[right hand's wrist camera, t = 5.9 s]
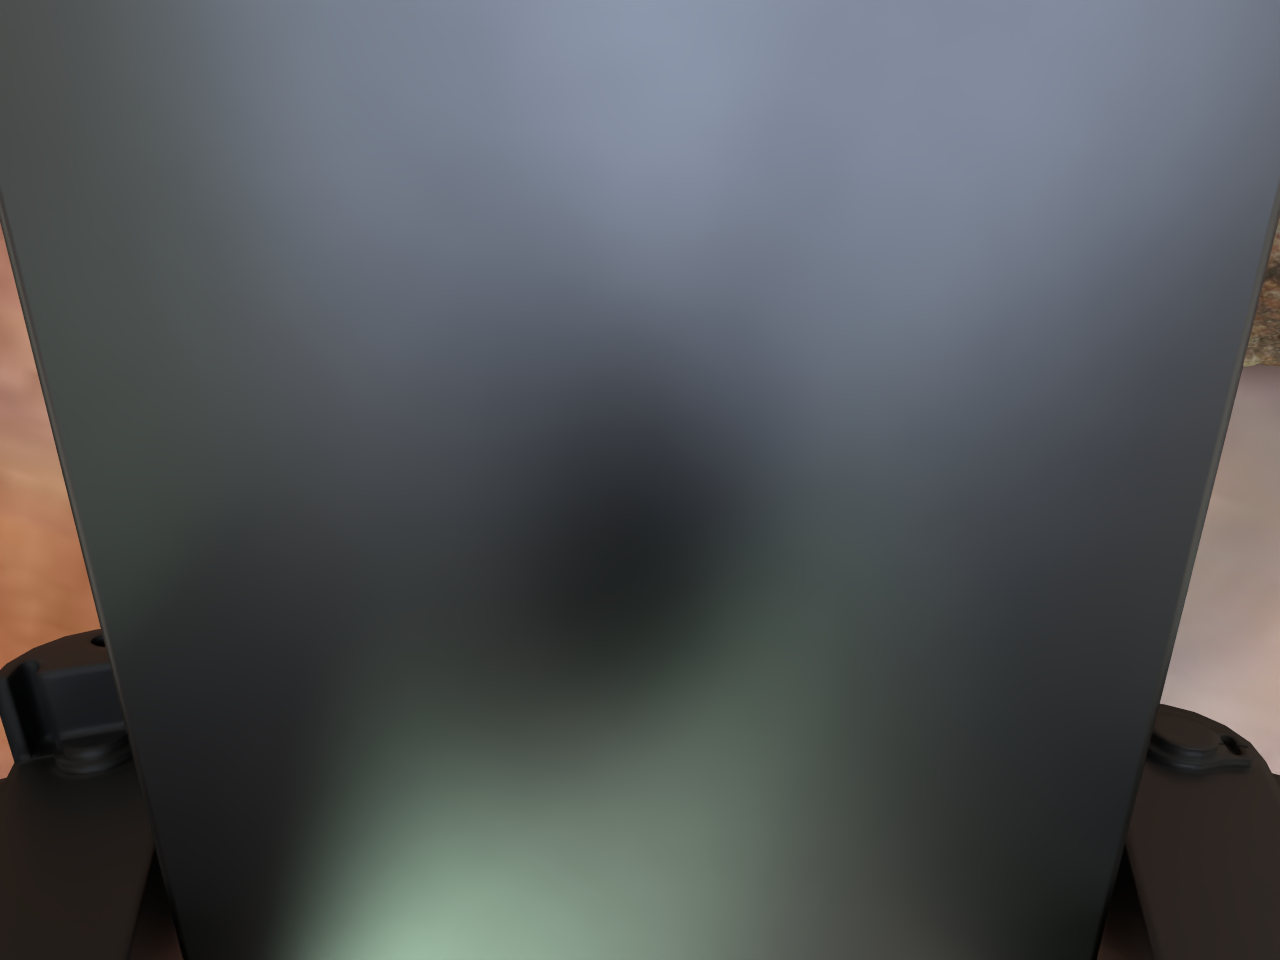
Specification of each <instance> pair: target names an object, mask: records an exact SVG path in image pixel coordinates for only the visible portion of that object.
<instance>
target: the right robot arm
mask: <svg viewBox="0 0 1280 960" xmlns="http://www.w3.org/2000/svg"><path fill="white" fill-rule="evenodd" d="M0 716H1V720H2V723H3V726H4V729H5V733H6V736H7V739H8V743H9V746H10V749H11V752H12V756H13V759H14V762H15V763H14V765H13V767H12V769H11V771H10V773H9V774H8V776H7V778H4V779H0V960H183V958H182V954H181V950H180V946H179V942H178V938H177V934H176V930H175V925H174V921H173V917H172V913H171V909H170V905H169V901H168V897H167V893H166V889H165V885H164V881H163V877H162V873H161V869H160V865H159V861H158V857H157V853H156V849H155V845H154V841H153V837H152V833H151V829H150V824H149V820H148V816H147V812H146V808H145V804H144V800H143V796H142V792H141V788H140V784H139V780H138V776H137V772H136V768H135V764H134V760H133V756H132V752H131V748H130V744H129V740H128V736H127V732H126V728H125V724H124V719H123V715H122V711H121V707H120V703H119V699H118V695H117V691H116V687H115V683H114V679H113V675H112V671H111V667H110V663H109V659H108V655H107V651H106V647H105V643H104V639H103V635H102V631H101V629H97V630H93V631H88V632H83V633H79V634H74V635H70V636H65V637H62V638H60V639H57V640H54V641H52V642H49V643H46V644H44V645H41V646H38V647H36V648H33V649H31V650H30V651H28V652H26V653H24V654H23V655H21V656H19V657H18V658H16V659H14V660H12V661H11V662H9V663H7V664H6V665H5V666H4V667H3V668H2V669H1V670H0ZM1096 960H1280V775H1277V774H1273V773H1271V771H1270V769H1269V767H1268V765H1267V763H1266V761H1265V760H1264V759H1263V758H1262V756H1261V755H1260V754H1259V753H1258V751H1257V750H1256V749H1255V748H1254V747H1253V745H1252V744H1251V743H1250V742H1249V741H1247V740H1246V739H1244V738H1243V737H1241V736H1240V735H1238V734H1237V733H1235V732H1234V731H1232V730H1231V729H1230V728H1228V727H1227V726H1225V725H1223V724H1221V723H1218V722H1216V721H1214V720H1211V719H1209V718H1207V717H1205V716H1202V715H1200V714H1198V713H1195V712H1192V711H1188V710H1184V709H1180V708H1176V707H1172V706H1168V705H1164V704H1159V708H1158V712H1157V716H1156V720H1155V724H1154V728H1153V732H1152V736H1151V740H1150V744H1149V748H1148V752H1147V756H1146V760H1145V765H1144V769H1143V773H1142V777H1141V781H1140V785H1139V789H1138V793H1137V797H1136V801H1135V805H1134V809H1133V813H1132V817H1131V821H1130V825H1129V829H1128V833H1127V837H1126V841H1125V845H1124V849H1123V854H1122V858H1121V862H1120V866H1119V870H1118V874H1117V878H1116V882H1115V886H1114V890H1113V894H1112V898H1111V902H1110V906H1109V910H1108V914H1107V918H1106V922H1105V926H1104V930H1103V934H1102V938H1101V943H1100V947H1099V951H1098V955H1097V959H1096Z"/></svg>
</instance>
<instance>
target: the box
mask: <svg viewBox="0 0 1280 960" xmlns="http://www.w3.org/2000/svg"><path fill="white" fill-rule="evenodd" d="M1279 218H1280V0H0V223H1V227H2V231H3V235H4V239H5V243H6V247H7V251H8V255H9V259H10V263H11V267H12V271H13V275H14V279H15V283H16V287H17V291H18V295H19V299H20V303H21V307H22V311H23V316H24V320H25V324H26V328H27V332H28V336H29V340H30V344H31V348H32V352H33V356H34V360H35V364H36V368H37V372H38V376H39V380H40V384H41V388H42V392H43V396H44V400H45V404H46V408H47V412H48V417H49V421H50V425H51V429H52V433H53V437H54V441H55V445H56V449H57V453H58V457H59V461H60V465H61V469H62V473H63V477H64V481H65V485H66V489H67V493H68V497H69V501H70V505H71V509H72V513H73V517H74V522H75V526H76V530H77V534H78V538H79V542H80V546H81V550H82V554H83V558H84V562H85V566H86V570H87V574H88V578H89V582H90V586H91V590H92V594H93V598H94V602H95V606H96V610H97V614H98V618H99V623H100V627H101V631H102V635H103V639H104V643H105V647H106V651H107V655H108V659H109V663H110V667H111V671H112V675H113V679H114V683H115V687H116V691H117V695H118V699H119V703H120V707H121V711H122V715H123V719H124V724H125V728H126V732H127V736H128V740H129V744H130V748H131V752H132V756H133V760H134V764H135V768H136V772H137V776H138V780H139V784H140V788H141V792H142V796H143V800H144V804H145V808H146V812H147V816H148V820H149V824H150V829H151V833H152V837H153V841H154V845H155V849H156V853H157V857H158V861H159V865H160V869H161V873H162V877H163V881H164V885H165V889H166V893H167V897H168V901H169V905H170V909H171V913H172V917H173V921H174V925H175V930H176V934H177V938H178V942H179V946H180V950H181V954H182V958H183V960H1096V959H1097V955H1098V951H1099V947H1100V943H1101V938H1102V934H1103V930H1104V926H1105V922H1106V918H1107V914H1108V910H1109V906H1110V902H1111V898H1112V894H1113V890H1114V886H1115V882H1116V878H1117V874H1118V870H1119V866H1120V862H1121V858H1122V854H1123V849H1124V845H1125V841H1126V837H1127V833H1128V829H1129V825H1130V821H1131V817H1132V813H1133V809H1134V805H1135V801H1136V797H1137V793H1138V789H1139V785H1140V781H1141V777H1142V773H1143V769H1144V765H1145V760H1146V756H1147V752H1148V748H1149V744H1150V740H1151V736H1152V732H1153V728H1154V724H1155V720H1156V716H1157V712H1158V708H1159V704H1160V700H1161V696H1162V692H1163V688H1164V684H1165V680H1166V675H1167V671H1168V667H1169V663H1170V659H1171V655H1172V651H1173V647H1174V643H1175V639H1176V635H1177V631H1178V627H1179V623H1180V619H1181V615H1182V611H1183V607H1184V603H1185V599H1186V595H1187V591H1188V586H1189V582H1190V578H1191V574H1192V570H1193V566H1194V562H1195V558H1196V554H1197V550H1198V546H1199V542H1200V538H1201V534H1202V530H1203V526H1204V522H1205V518H1206V514H1207V510H1208V506H1209V502H1210V497H1211V493H1212V489H1213V485H1214V481H1215V477H1216V473H1217V469H1218V465H1219V461H1220V457H1221V453H1222V449H1223V445H1224V441H1225V437H1226V433H1227V429H1228V425H1229V421H1230V417H1231V413H1232V408H1233V404H1234V400H1235V396H1236V392H1237V388H1238V384H1239V380H1240V376H1241V372H1242V368H1243V364H1244V360H1245V356H1246V352H1247V348H1248V344H1249V340H1250V336H1251V332H1252V328H1253V323H1254V319H1255V315H1256V311H1257V307H1258V303H1259V299H1260V295H1261V291H1262V287H1263V283H1264V279H1265V275H1266V271H1267V267H1268V263H1269V259H1270V255H1271V251H1272V247H1273V243H1274V239H1275V234H1276V230H1277V226H1278V222H1279Z"/></svg>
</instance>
